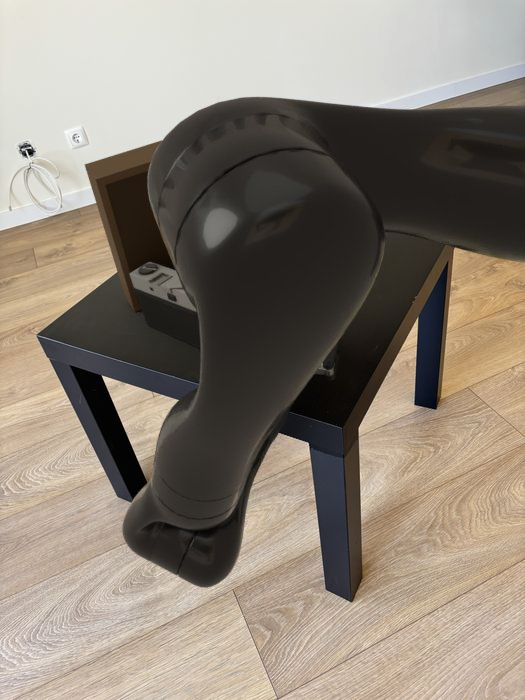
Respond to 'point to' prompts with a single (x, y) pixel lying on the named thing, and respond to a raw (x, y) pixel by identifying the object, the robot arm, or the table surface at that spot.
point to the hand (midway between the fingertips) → (304, 315)
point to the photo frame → (128, 213)
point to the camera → (166, 302)
